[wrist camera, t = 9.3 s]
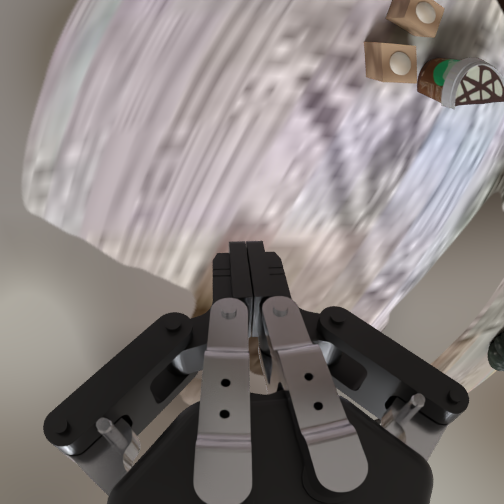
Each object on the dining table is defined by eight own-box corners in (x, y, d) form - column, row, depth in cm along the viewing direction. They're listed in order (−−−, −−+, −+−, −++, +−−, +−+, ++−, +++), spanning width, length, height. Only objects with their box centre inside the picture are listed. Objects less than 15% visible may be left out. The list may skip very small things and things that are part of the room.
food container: (466, 50, 32) (511, 61, 24) (469, 87, 36) (513, 104, 28) (403, 51, 33) (446, 59, 25) (409, 92, 37) (451, 109, 29)
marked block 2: (363, 41, 32) (381, 42, 28) (396, 43, 32) (416, 46, 28) (365, 76, 36) (383, 82, 31) (397, 77, 36) (417, 83, 31)
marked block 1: (395, -9, 28) (415, -13, 23) (423, 9, 29) (445, 8, 25) (385, 18, 30) (404, 17, 26) (414, 35, 32) (435, 37, 27)
